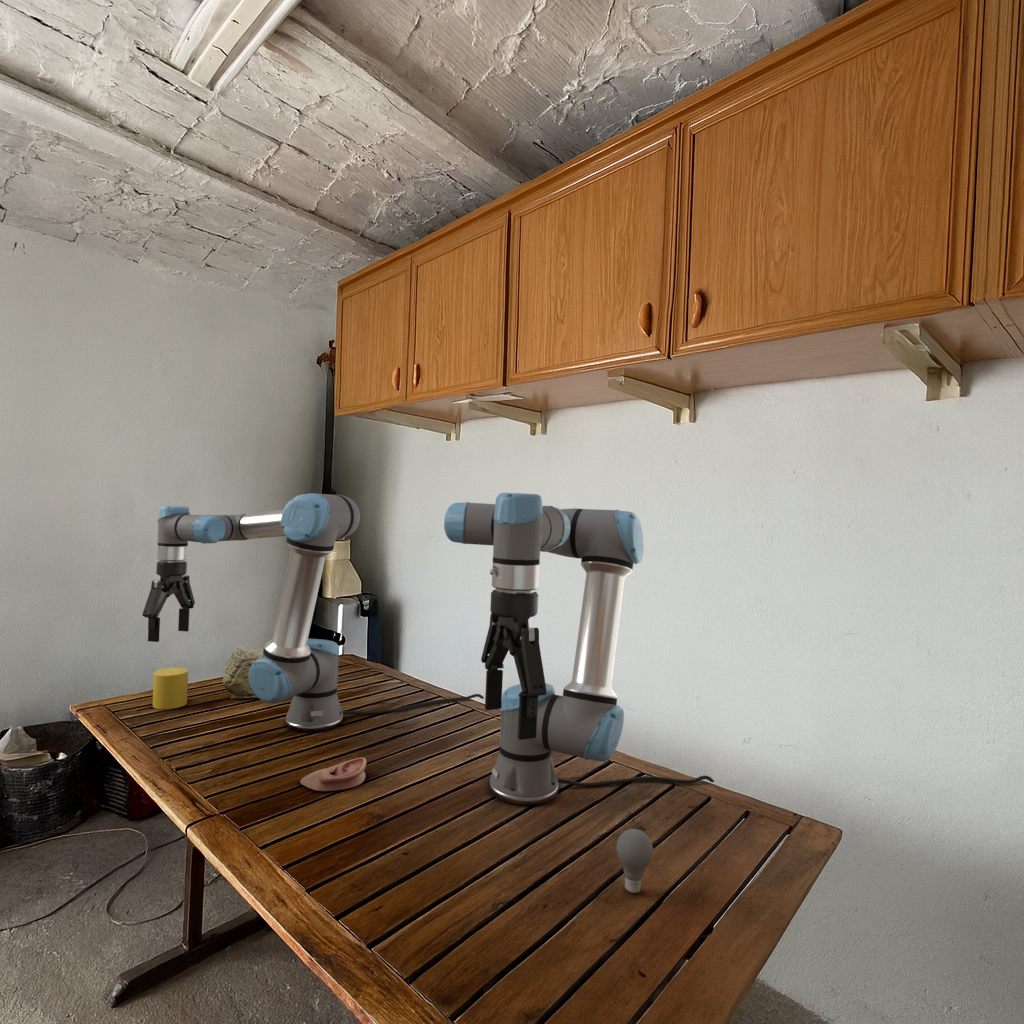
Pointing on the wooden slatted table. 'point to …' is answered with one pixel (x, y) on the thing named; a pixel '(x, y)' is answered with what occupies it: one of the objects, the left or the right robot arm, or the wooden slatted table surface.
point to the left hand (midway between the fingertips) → (168, 636)
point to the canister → (170, 688)
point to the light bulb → (634, 857)
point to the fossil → (240, 672)
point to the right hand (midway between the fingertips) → (508, 722)
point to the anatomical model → (337, 776)
